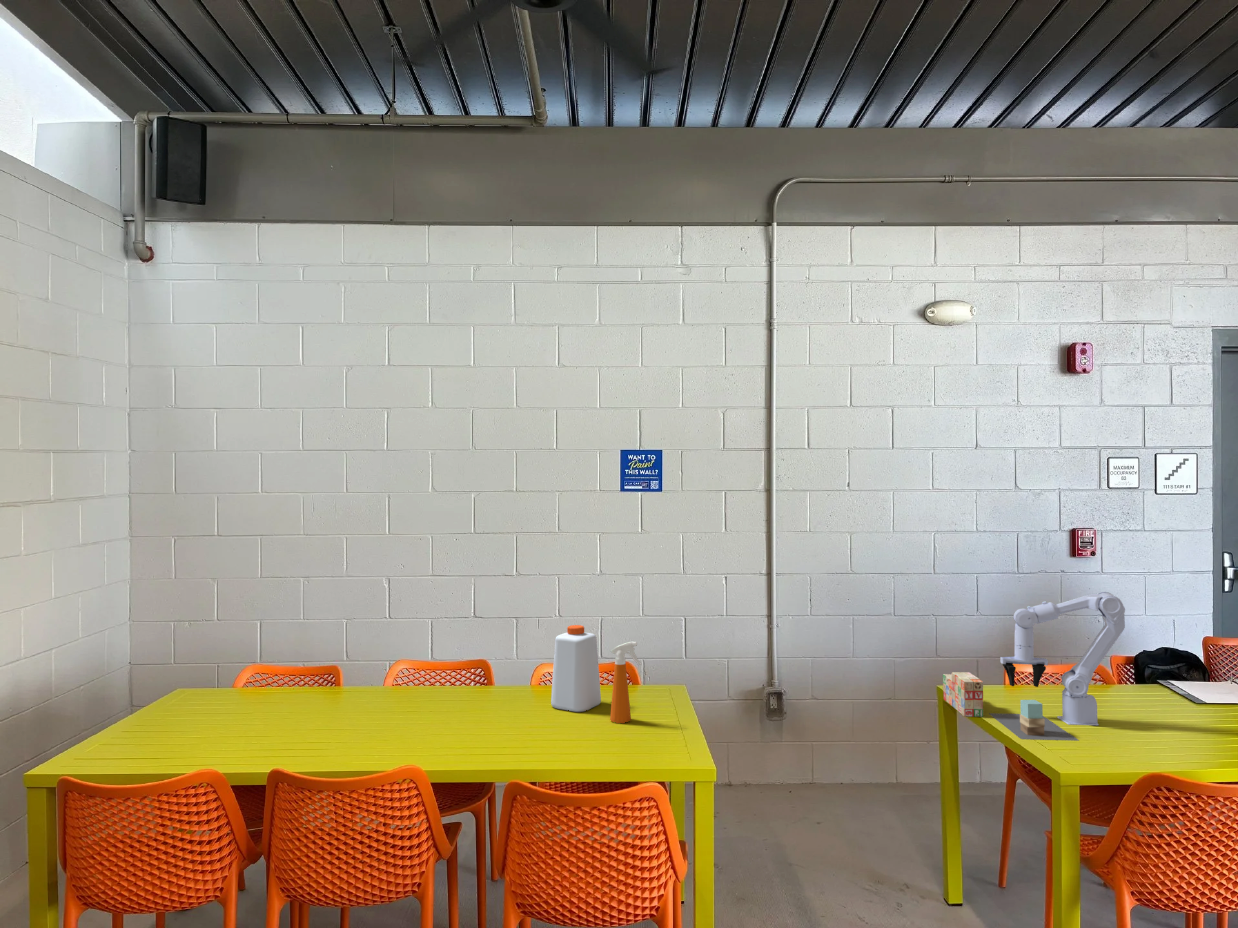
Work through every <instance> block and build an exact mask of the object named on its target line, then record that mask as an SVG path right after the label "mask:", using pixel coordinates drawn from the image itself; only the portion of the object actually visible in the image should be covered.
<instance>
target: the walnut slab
mask: <svg viewBox="0 0 1238 928" xmlns="http://www.w3.org/2000/svg"><path fill="white" fill-rule="evenodd" d="M1021 731H1023V732H1024V733H1025V734H1027V735H1044V727H1028V726H1026V725H1024V724H1022V723H1021Z"/></svg>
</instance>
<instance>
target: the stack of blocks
mask: <svg viewBox="0 0 1238 928" xmlns="http://www.w3.org/2000/svg"><path fill="white" fill-rule="evenodd" d="M942 690H943V700H944V701H945V702H946V703H948V704H949V705H950V706H951V707H953V708H954V709H955V710H957V712H958V713H960V714H961V715H962V716H963V717H969V718H970V717H972V718H973V717H974V718H975V717H980V718H984V681H983V680H981V679H980V678H979V677H977V676H975V675H974V674H972V673H971V672H969V671H967V672H965V671H963V672H961V671H960V672H958V671H957V672H956V671H955V672H954V671H952V672H951V674H950V673H943V674H942Z"/></svg>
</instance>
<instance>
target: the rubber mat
mask: <svg viewBox="0 0 1238 928" xmlns="http://www.w3.org/2000/svg"><path fill="white" fill-rule="evenodd" d="M1020 714H1021V713H992V712H991V713H990V712H989V713H988V715H990V717H992V718H993V719H994V720H996V721H997V722H998V723H1000V724H1001V725H1002V726H1003V727H1004V728H1006V729H1008V731H1010V732H1011V733H1013V734H1014V735H1015V736H1016V737H1018V739H1020V740H1029V741H1030V740H1031V741H1032V740H1033V741H1034V740H1036V741H1037V740H1040V741H1041V740H1042V741H1074V742H1075V741H1076V742H1077V741H1079V742H1080V740H1079V739H1078V738H1076V737H1075V736H1074V735H1073V734H1070V733H1069V732H1068V731H1066V730H1065V729H1063V728H1062V727H1060V726H1059V725H1058V724H1056V723H1054V722H1053V721H1051V720H1050V719H1049V718H1047V717H1045V716H1044V715H1043V718H1044V719H1045V727H1044V735H1027V734H1025V733H1024V732H1023V731H1021V723H1020Z"/></svg>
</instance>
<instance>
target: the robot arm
mask: <svg viewBox="0 0 1238 928" xmlns="http://www.w3.org/2000/svg"><path fill="white" fill-rule="evenodd" d="M1085 609H1089V610H1092V611H1095V612H1100V613H1101V616H1102V618H1103V622H1104V625H1103V626H1102V628H1101V629H1100V631H1099V632H1098V634H1097V635H1096V636H1095V638H1094V639H1093V640H1092V642H1091V643H1090V645H1089V646H1088V648H1087V649H1086V651H1085V652H1084V654H1083V655H1082V656H1081V658H1080V660H1078V662H1077V663H1076V664H1074V665H1073V666H1071V668H1070V669H1069V670H1067V671H1066V672H1064V673H1063V674H1062V676H1061V684H1062V685H1063V686H1064V688H1063V690H1061V691H1062V692H1061V696H1062V697H1061V698H1062V699H1061V700H1062V702H1061V703H1062V704H1061V705H1062V715H1057V719H1059V720H1060V721H1062V722H1064V723H1066V724H1067V725H1068V726H1069V725H1070V726H1099V725H1100V724H1099V723H1098V702H1097V699H1096V697H1094V695H1092V694H1088V691H1089V685H1090V683H1091V682H1092V679H1093V674H1094V673H1095V671H1096V670H1097V669H1098V667H1099V665H1100V664H1101V663H1102V661H1104V660H1103V659H1105V657H1106V655H1107V654H1108V653H1109V651H1110V650H1111V648H1112V647H1113V646H1114V644H1115V643H1116V641H1117V640H1118V639H1119V637H1120V636H1121V634H1122V633H1123V631H1125V628H1126V624H1125V623H1126V622H1125V614H1126V613H1125V612H1126V608H1125V606H1124V604H1123V602H1122V600H1121V599H1120V598H1119V597H1117V596H1116V595H1114V594H1112V593H1111V592H1107V591H1100V592H1099V593H1089V594H1085V595H1083V596H1079V597H1076V598H1074V599H1073V598H1072V599H1070V600H1067V601H1062V602H1060V603H1056V604H1055V603H1054V602H1052V601H1049V602H1047V601H1046V600H1045V601H1042V602H1041V603H1040V604H1036V605H1034V606H1030V605H1028V606H1027V607H1026V608H1018V609H1016V610H1015V612H1014V613H1013V620H1014V622H1015V623H1014V656H1000V658H999V659H1000V661H999V662H1000V664H1001V665H1002V666H1003V668H1004V671H1005V672H1006V675H1007V678H1008V682H1009V685H1010V686H1011V687H1014V686H1015V683H1016V682H1015V677H1016V676H1015V674H1016V669H1017V667H1016V666H1015V665H1031V668H1032V684H1033V686H1034V687H1035V688H1039V684H1040V681H1041V679H1042V676H1043V675H1044V672H1046V669H1047V668H1046V667H1047V666H1048V665H1049V663H1048V662H1049V660H1048V659H1047V658H1045V657H1043V658H1042V657H1035V656H1034V655H1035V654H1034V653H1035V652H1034V648H1035V647H1034V646H1035V645H1034V643H1035V641H1034V639H1035V634H1034V626H1035V624H1037V625H1039V624H1042V623H1046V622H1050V621H1054V620H1057V619H1058V618H1059V617H1060V615H1062V614H1066V613H1071V612H1075V611H1080V610H1085Z"/></svg>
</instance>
